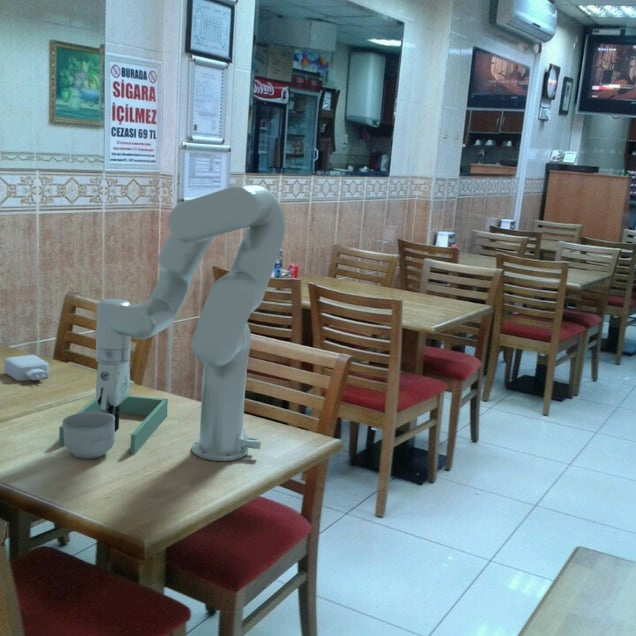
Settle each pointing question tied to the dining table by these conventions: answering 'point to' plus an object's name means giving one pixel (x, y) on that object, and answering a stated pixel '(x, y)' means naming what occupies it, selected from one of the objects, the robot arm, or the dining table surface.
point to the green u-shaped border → (138, 406)
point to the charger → (26, 368)
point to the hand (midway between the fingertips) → (110, 429)
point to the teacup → (89, 433)
